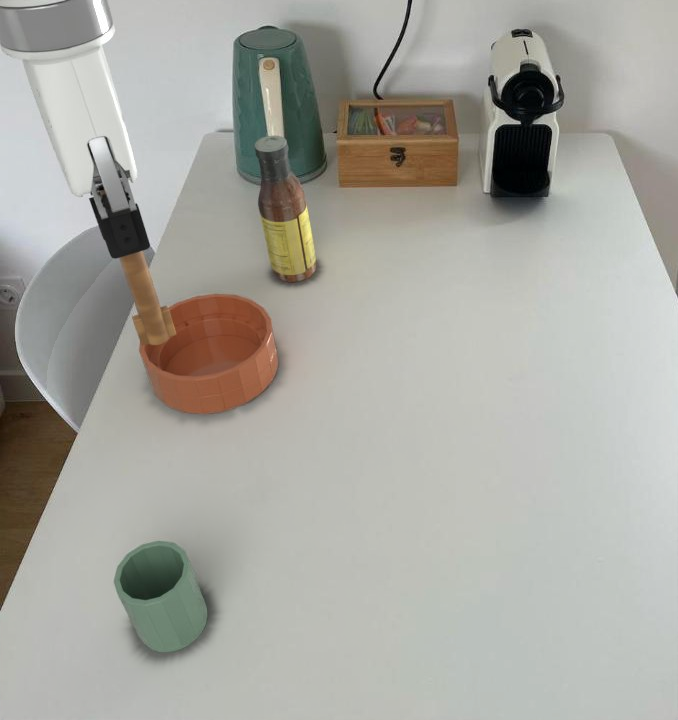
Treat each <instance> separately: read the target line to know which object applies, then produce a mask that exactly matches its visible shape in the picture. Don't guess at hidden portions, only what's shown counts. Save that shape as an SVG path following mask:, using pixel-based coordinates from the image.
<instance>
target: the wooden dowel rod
mask: <svg viewBox="0 0 678 720" xmlns="http://www.w3.org/2000/svg"><path fill="white" fill-rule="evenodd" d="M100 194H101V197H102V195H103V194H106V193H105V190H101V191H100ZM118 259H119V262H120V264H121V265H120V266H121V268H122V271H123V274H124V276H125V279H126V282H127V285H128V289H129V291H130V294H131V298H132V300H133V303H134V306H135V308H136V311H137V314H135V315H132V316H131V319H132V322H133V325H134V328H135V330H136V333H137V336H138V339H139V343H140V342H141V344H142V346H144V345H147V344H151V345H161V344H163V343H165V342H166V341H167V340H168V339H169V337H171V336H174V335H176V331H175V327H174V324H173V321H172V318H171V314H170V311H169V309H168V307H169V306H168V305H162V306H161V304H160V303H161V302H160V301H159V298H158V297H159V296H158V295H157V291H156V287H155V284H154V281H153V278H152V275H151V272H150V269H149V266H148V263H147V262H148V261H147V260H146V256H145V253H144V250H143V251H140V252H137V253H133V254H130V255H127V256H123V257H120V258H118Z"/></svg>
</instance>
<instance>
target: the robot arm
mask: <svg viewBox="0 0 678 720" xmlns="http://www.w3.org/2000/svg"><path fill="white" fill-rule="evenodd" d="M110 9H111V8H110V6H109V2H108V0H0V49H1V52H3V54H5V55H6V56H9V57H11V58H13V59H17V60H22V63H23V64H22V65H23V67H24V71H25V74H26V77H27V80H28V83H29V86H30V89H31V91H32V94H33V98H34V101H35V103H36V106H37V108H38V111H39V113H40V117H41V119H42V122H43V125H44V127H45V130H46V132H47V136H48V138H49V141H50V143H51V146H52V149H53V152H54V154H55V156H56V159H57V161H58V164H59V166H60V169H61V172H62V174H63V176H64V179H65V181H66V184H67V186H68V188H69V191H70V193H71V194H72V195H74V196H75V197H78V198H82V197H83V195H87V194H90V196H91V197H89V198H88V200H89V203H90V205H91V208H92V212H93V214H94V217H95V220H96V223H97V226H98V228H99V231H100V234H101V237H102V240H103V241H104V242H105V245H106V248H107V250H108V253H109V256H110V258H112V259H114V260H115V259H119V258H120V257H123V256H127V255H130V254H133V253H137V252H140V251H143V252H144V251H147V250H148V249H150V247H151V243H150V240H149V236H148V233H147V230H146V227H145V223H144V220H143V217H142V213H141V211H140V207H139V205H138V203H137V202H136V201H135V198H134V195H133V192H132V189H131V186H130V183H132V184H133V183H135V181H136V180H137V178H138V176H139V174H138V173H139V172H138V168H137V165H136V159H135V156H134V151H133V148H132V144H131V140H130V136H129V133H128V128H127V125H126V122H125V117H124V115H123V111H122V107H121V104H120V100H119V97H118V93H117V90H116V86H115V83H114V80H113V77H112V73H111V69H110V66H109V63H108V60H107V57H106V54H105V50H104V47H103V45H104V44H106V43H107V42H108V41H110V40H111V39H112V38H113V37H114V36H115V33H116V27H115V24H114V20H113V16H112V13H111V10H110ZM129 181H130V182H129ZM101 190H105V193H106V194H103V195H102V197H101V194H100V191H101Z"/></svg>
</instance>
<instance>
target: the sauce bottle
mask: <svg viewBox="0 0 678 720" xmlns="http://www.w3.org/2000/svg"><path fill="white" fill-rule="evenodd" d="M289 150H290V148H289V144H288V142H287V139H286V138H285V137H283V136H281V135H266V136H263V137H260V138H259V139H257V140H256V141H255V142H254V153H255V157H257V159H258V164H259V169H260V172H259V173H260V190H259V193H258V198H257V208H258V212H259V215H260V221H261V225H262V229H263V234H264V239H265V244H266V248H267V253H268V257H269V262H270V266H271V269H273V274H274V275H275V277H276V278H277V279H279V280H281V281H283V282H287V283H297V282H301V281H304V280H307V279H309V278H310V277H312V276H313V275H314V273H315V272H316V269H317V262H316V259H317V257H316V251H315V246H314V245H315V244H314V239H313V234H312V233H313V232H312V228H311V221H310V217H309V211H308V205H307V201H306V199H305V192H304V189H303V186H302V185H301V182H300V179H299V178H298V177H297V176H296V175H295V174H294V172H293V171H292V167H291V165H290V160H289Z"/></svg>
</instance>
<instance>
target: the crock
mask: <svg viewBox="0 0 678 720" xmlns="http://www.w3.org/2000/svg"><path fill="white" fill-rule="evenodd" d="M113 585H114V588H115V591H116V594H117V596H118V598H119V601H120V602H121V604H122V606H123V608H124V610H125V612H126V615H127V617H128V618H129V621H131V624H132V626H133V628H134V630H135V632H136V634H137V636H138V638H139V640H141V641H142V644H144V645H145V646H146V647H147V648H149V649H150V650H152V651H155V652H159V653H172V652H177V651H180V650H182V649H184V648H186V647H188V646H190V645H191V644H192V643H194V642H195V641H196V640H197V639H198V638H199V637H200V635H201V634H202V633H203V631H204V630H205V628H206V624H207V622H208V607H207V603H206V602H205V599H204V596H203V594H202V591H201V588H200V585H199V582H198V581H197V578H196V575H195V572H194V570H193V567H192V564H191V562H190V559H189V556H188V554H187V552H186V550H185V549H184V548H183V547H181V546H180V545H178V544H177V543H175V542H172V541H165V540H155V541H151V542H146V543H143V544H140V545H139V546H137V547H136V548H134V549H132V550H130V552H128V553H127V554H126V555H125V556H124V557H123V559H122V560H121V561H120V562H119V564H118V565H117V567H116V570H115V574H114V578H113Z"/></svg>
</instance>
